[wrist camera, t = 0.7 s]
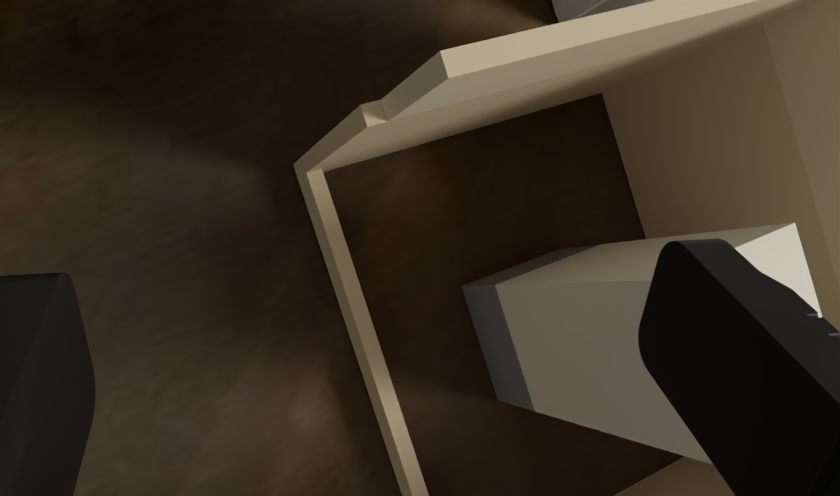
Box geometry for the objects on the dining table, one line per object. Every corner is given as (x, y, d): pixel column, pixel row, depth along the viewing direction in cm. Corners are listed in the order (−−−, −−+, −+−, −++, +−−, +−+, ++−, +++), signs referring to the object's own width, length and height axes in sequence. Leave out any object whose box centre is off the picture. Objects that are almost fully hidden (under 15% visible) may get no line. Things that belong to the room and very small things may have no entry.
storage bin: (292, 164, 27) (414, 56, 15) (608, 77, 32) (885, -54, 20) (439, 608, 28) (665, 848, 16) (720, 450, 33) (1048, 538, 21)
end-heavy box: (461, 286, 29) (658, 280, 18) (559, 248, 31) (794, 222, 20) (497, 400, 29) (714, 464, 18) (593, 357, 31) (844, 391, 20)
